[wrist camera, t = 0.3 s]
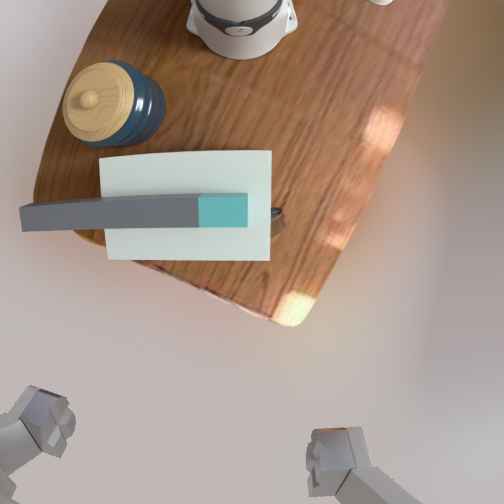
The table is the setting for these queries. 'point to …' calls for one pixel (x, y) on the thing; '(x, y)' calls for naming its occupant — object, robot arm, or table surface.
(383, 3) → the cylindrical container
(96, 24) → the table surface
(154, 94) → the canister
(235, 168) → the pedestal
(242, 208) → the teal-tipped grey bar
